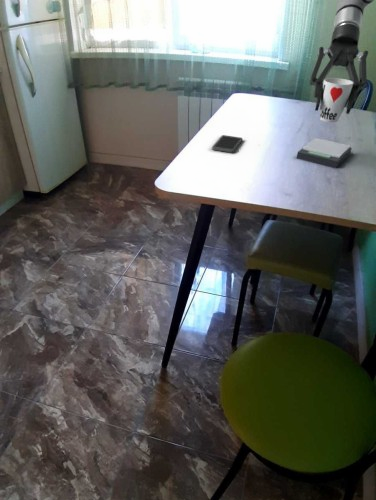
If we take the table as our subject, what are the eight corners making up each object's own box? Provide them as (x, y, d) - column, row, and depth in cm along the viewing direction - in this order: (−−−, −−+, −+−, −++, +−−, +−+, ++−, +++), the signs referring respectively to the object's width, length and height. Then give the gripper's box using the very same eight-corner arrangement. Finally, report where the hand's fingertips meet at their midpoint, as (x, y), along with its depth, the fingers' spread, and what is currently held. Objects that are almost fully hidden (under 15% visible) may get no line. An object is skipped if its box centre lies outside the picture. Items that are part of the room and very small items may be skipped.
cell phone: (242, 139, 142) (243, 137, 141) (233, 153, 132) (233, 150, 131) (222, 136, 143) (222, 134, 143) (211, 149, 133) (211, 147, 133)
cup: (309, 118, 122) (318, 80, 115) (325, 114, 126) (334, 76, 119) (333, 125, 118) (343, 86, 111) (348, 120, 122) (359, 82, 115)
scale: (349, 154, 136) (352, 146, 134) (335, 168, 126) (338, 159, 125) (312, 145, 141) (314, 137, 139) (296, 158, 131) (298, 149, 129)
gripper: (379, 45, 120) (366, 120, 119) (307, 39, 123) (294, 113, 122) (388, 24, 113) (375, 105, 112) (311, 19, 115) (297, 97, 115)
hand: (332, 109), depth 117 cm, fingers closed on cup, 8 cm apart
